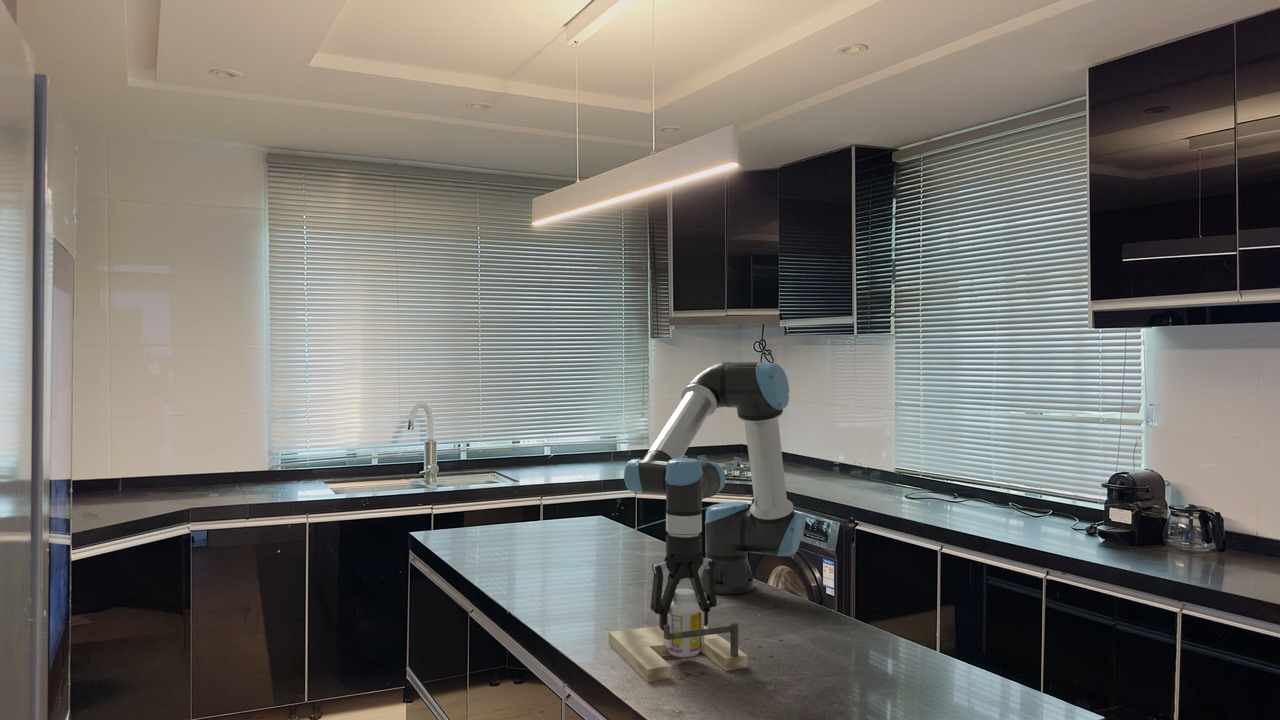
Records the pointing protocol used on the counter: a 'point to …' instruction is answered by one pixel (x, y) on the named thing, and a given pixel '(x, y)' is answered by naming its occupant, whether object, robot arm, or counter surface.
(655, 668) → the wooden u-shaped stand
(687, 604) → the supplement bottle
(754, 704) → the counter surface
